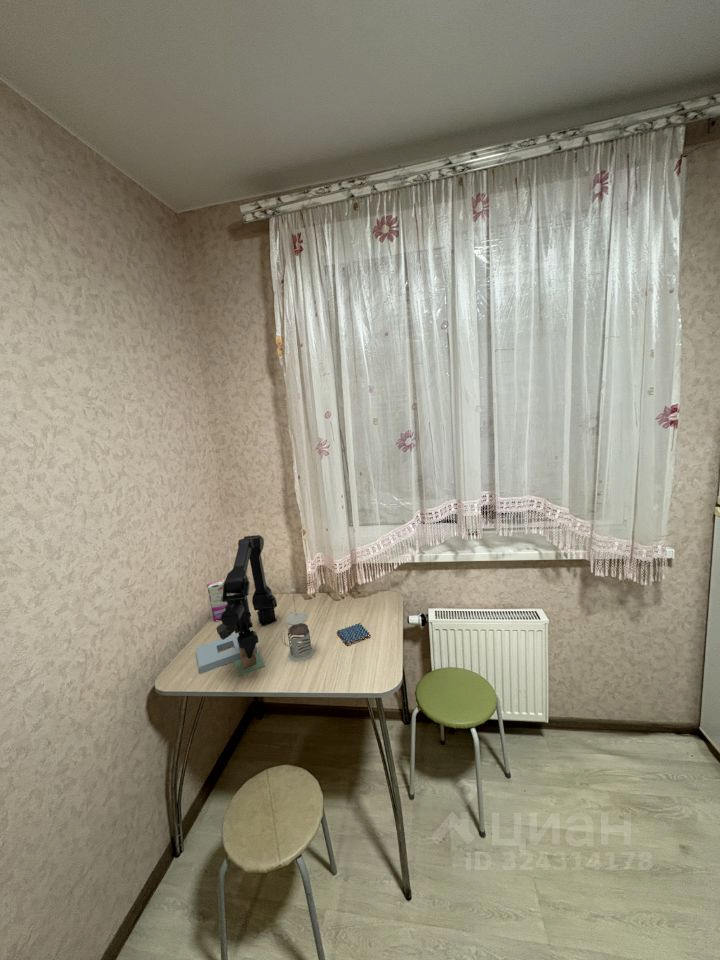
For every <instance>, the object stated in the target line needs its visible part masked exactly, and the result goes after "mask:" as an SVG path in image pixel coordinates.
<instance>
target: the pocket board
mask: <svg viewBox="0 0 720 960" xmlns="http://www.w3.org/2000/svg"><path fill="white" fill-rule="evenodd" d="M238 636H239V634H238V633H236V634H235V633H234V634H231V635H230V636H229V637H227V638H226V639H224V640H222V639H221V638H220V639H216V640H213V641H210V642H207V643H205V644H201V645H199V646H196V647H195V650H196V657H197V663H198V665H197V666H198V671H199V674H202V673H207V672H208V671H211V670H214V669H216V668H219V667H221V666H225V665H228V664H231V663H234V661H236V660H238V659H241V657H240V651H239V645H238V641H237V637H238ZM232 647H233V648H232ZM229 648H232V649H229ZM227 649H228V650H227ZM225 650H227V651H225ZM254 650H255V653H258V648H257V645H256V646H255V648H254ZM221 651H223V652H221ZM219 652H220V653H219Z"/></svg>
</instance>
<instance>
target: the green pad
mask: <svg viewBox="0 0 720 960" xmlns="http://www.w3.org/2000/svg"><path fill="white" fill-rule="evenodd" d="M255 657H256V663H257V664H256V665H253V666H250V667H248V668H245V669H244V668H243V665H242V663H241V659H238V660H236V661H234V662H233V663H234V665H235V669H236V672H237V675H238V677H240V676H242V675H245V674H248V673H251V672H254V671H256V670H259V669H261V668H264V667H265V662H264V660H263V658H262V656H261V653H260V652H258V651H257V653H255Z"/></svg>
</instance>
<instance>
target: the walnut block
mask: <svg viewBox="0 0 720 960" xmlns="http://www.w3.org/2000/svg"><path fill="white" fill-rule="evenodd" d="M239 651H240V657H241V663H242V665H243V668H244V669H245V668H248V667H250V666H253V665H256V664H257V663H256V657H255V650H254V651H253V655H252V658H250V659H248V657H247V654H246V652H245V649H244V648H239Z"/></svg>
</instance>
